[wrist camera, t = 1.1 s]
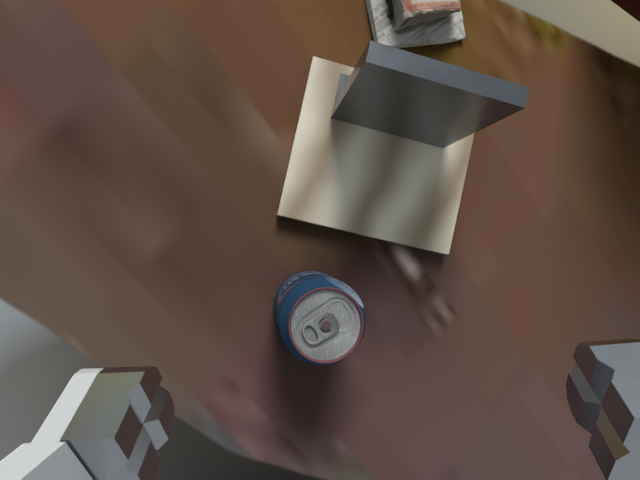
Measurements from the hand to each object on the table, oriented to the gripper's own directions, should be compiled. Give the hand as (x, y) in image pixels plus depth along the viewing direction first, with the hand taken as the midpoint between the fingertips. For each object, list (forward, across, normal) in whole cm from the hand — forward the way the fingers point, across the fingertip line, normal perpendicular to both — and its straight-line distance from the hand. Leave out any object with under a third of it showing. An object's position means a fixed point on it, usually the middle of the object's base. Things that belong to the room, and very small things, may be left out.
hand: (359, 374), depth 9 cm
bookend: (+39, -4, +7) cm, 40 cm away
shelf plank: (+37, -3, +12) cm, 39 cm away
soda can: (+28, +6, +23) cm, 37 cm away
